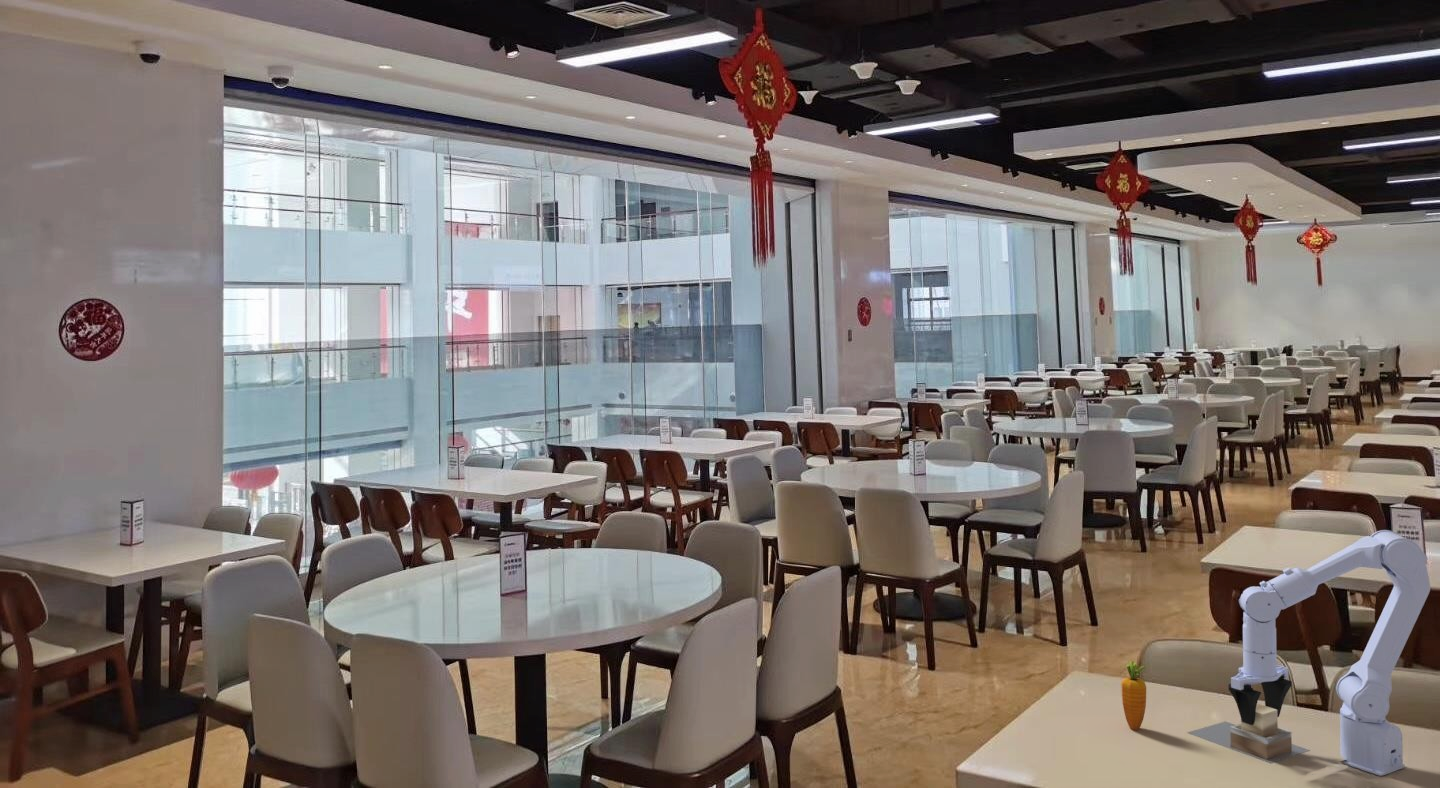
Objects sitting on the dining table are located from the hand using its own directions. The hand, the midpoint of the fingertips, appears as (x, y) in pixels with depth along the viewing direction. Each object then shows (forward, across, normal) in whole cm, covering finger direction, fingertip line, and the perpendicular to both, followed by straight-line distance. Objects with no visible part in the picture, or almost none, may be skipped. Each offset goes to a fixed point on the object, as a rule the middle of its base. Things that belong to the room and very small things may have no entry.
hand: (1260, 719), depth 192 cm
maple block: (+3, 0, 0) cm, 3 cm away
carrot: (+7, +12, -20) cm, 24 cm away
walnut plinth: (+7, 0, 0) cm, 7 cm away
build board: (+7, -2, -4) cm, 8 cm away
